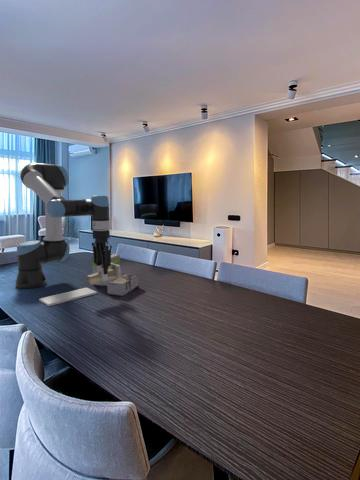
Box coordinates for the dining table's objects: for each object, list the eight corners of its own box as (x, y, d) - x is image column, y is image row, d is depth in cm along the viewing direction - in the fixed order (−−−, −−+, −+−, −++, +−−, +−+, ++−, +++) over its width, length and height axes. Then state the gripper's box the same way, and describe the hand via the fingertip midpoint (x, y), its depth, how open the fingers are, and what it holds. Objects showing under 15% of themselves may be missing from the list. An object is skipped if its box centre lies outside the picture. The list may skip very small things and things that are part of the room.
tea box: (109, 286, 163) (108, 259, 160) (92, 285, 165) (91, 258, 162) (120, 278, 177) (119, 253, 175) (104, 277, 179) (103, 253, 177)
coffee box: (122, 296, 146) (139, 287, 161) (122, 283, 145) (139, 275, 160) (107, 294, 150) (125, 285, 164) (106, 281, 149) (124, 273, 163)
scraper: (85, 282, 139) (84, 270, 138) (112, 274, 149) (110, 262, 147) (94, 286, 133) (93, 273, 132) (121, 277, 143) (120, 265, 142)
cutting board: (39, 300, 140) (39, 298, 140) (86, 289, 157) (86, 287, 157) (48, 306, 133) (48, 304, 133) (96, 293, 150) (96, 291, 150)
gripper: (84, 228, 140) (86, 278, 144) (103, 232, 129) (105, 285, 132) (98, 227, 145) (100, 275, 149) (118, 230, 134) (119, 281, 138)
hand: (102, 279), depth 141 cm, fingers closed on scraper, 3 cm apart
